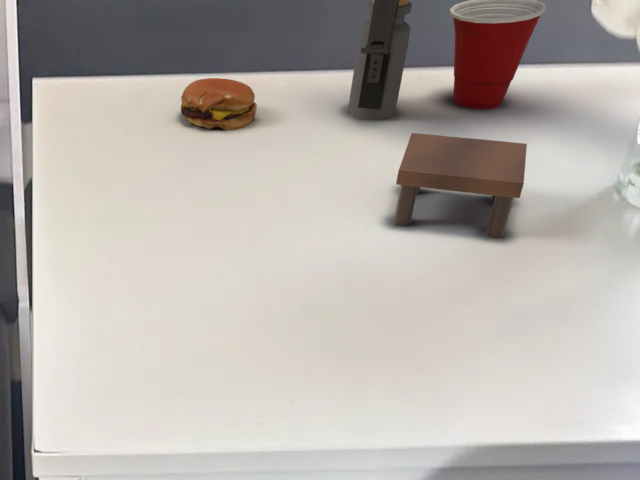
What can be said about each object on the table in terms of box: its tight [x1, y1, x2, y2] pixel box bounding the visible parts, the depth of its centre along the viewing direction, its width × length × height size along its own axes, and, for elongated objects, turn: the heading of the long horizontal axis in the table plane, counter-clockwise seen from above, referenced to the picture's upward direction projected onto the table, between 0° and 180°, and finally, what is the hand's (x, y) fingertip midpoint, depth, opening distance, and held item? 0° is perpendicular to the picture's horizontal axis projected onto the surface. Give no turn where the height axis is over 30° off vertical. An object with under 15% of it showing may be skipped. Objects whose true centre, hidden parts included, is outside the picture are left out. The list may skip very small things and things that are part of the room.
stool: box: [393, 132, 528, 239], centre depth 95 cm, size 11×11×6 cm
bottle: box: [347, 0, 413, 121], centre depth 117 cm, size 6×6×15 cm
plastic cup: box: [449, 0, 547, 110], centre depth 120 cm, size 11×11×12 cm
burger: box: [180, 77, 258, 131], centre depth 121 cm, size 10×9×5 cm
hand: (373, 99), depth 121 cm, fingers closed on bottle, 6 cm apart
